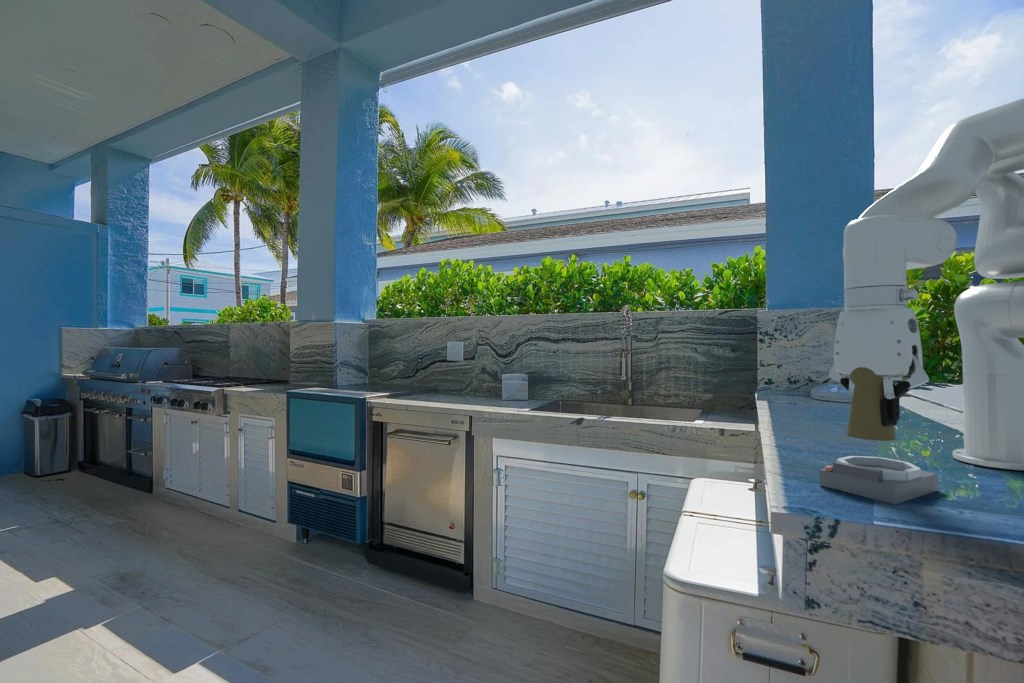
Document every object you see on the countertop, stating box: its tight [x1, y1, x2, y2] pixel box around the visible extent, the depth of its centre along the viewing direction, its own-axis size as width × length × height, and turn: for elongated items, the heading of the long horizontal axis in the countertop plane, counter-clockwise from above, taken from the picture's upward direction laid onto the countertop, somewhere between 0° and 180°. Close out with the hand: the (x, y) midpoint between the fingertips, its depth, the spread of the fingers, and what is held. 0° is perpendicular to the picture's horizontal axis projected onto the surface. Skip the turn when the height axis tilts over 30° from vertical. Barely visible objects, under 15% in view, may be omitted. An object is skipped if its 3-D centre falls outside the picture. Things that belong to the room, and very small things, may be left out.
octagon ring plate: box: [819, 455, 939, 505], centre depth 74 cm, size 12×10×4 cm
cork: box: [846, 367, 897, 442], centre depth 74 cm, size 6×6×11 cm
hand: (875, 422), depth 74 cm, fingers closed on cork, 2 cm apart
